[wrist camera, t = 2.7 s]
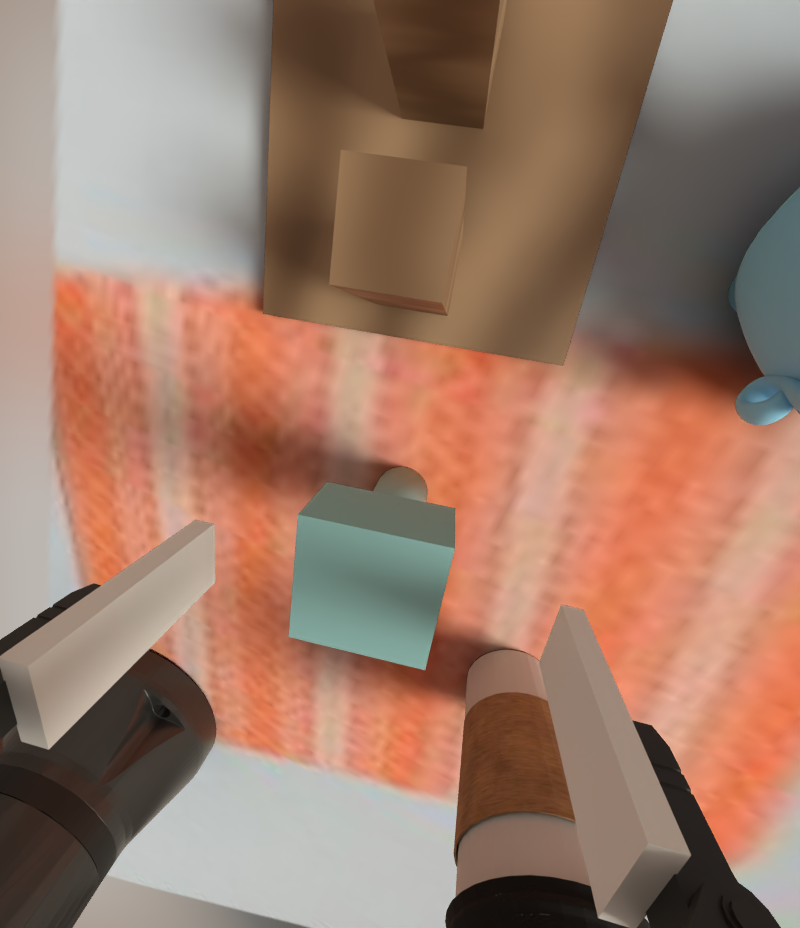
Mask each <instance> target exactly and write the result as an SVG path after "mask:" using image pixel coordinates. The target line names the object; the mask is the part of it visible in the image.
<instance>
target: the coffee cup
mask: <svg viewBox="0 0 800 928" xmlns="http://www.w3.org/2000/svg"><path fill="white" fill-rule="evenodd" d="M539 662H540V661H539V660H537V659H536V658H535V657H533V656H531V655H529V654H527V653H523V652H520V651H515V650H498V651H493V652H490V653H487V654H485V655H483V656H481V657H480V658H478V659H477V660H476V661H475V662H474V663H473V665H472V666H471V667H470V670H469V672H468V677H467V688H466V707H465V721H464V730H463V743H462V756H461V768H460V781H459V794H458V806H457V819H456V832H455V845H454V858H455V864H456V866H457V881H456V897H455V898H454V899H453V900H452V902H451V903H450V905H449V907H448V909H447V912H446V920H445V922H446V928H629V927H625V926H622V925H619V924H616V923H612V922H609V921H606V920H603V919H599V918H598V915H597V911H596V907H595V902H594V898H593V894H592V889H591V885H590V881H589V876H588V872H587V868H586V863H585V859H584V855H583V851H582V846H581V842H580V838H579V833H578V829H577V825H576V820H575V816H574V812H573V807H572V803H571V799H570V794H569V790H568V786H567V781H566V777H565V773H564V768H563V764H562V760H561V755H560V751H559V747H558V742H557V738H556V734H555V730H554V725H553V721H552V717H551V712H550V708H549V704H548V699H547V695H546V691H545V686H544V682H543V678H542V673H541V669H540V665H539ZM637 928H651V927H650V924H649V923H648V921H647V920H646V919H645V918H644V919H643V920H642V922H641V923H640V924H639V926H638V927H637Z"/></svg>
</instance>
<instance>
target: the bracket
mask: <svg viewBox="0 0 800 928" xmlns="http://www.w3.org/2000/svg"><path fill="white" fill-rule="evenodd" d="M672 2H673V0H273V29H272V58H271V88H270V118H269V148H268V178H267V208H266V238H265V268H264V298H263V314H268V315H273V316H279V317H285V318H291V319H296V320H302V321H308V322H314V323H319V324H325V325H331V326H337V327H343V328H348V329H354V330H360V331H366V332H371V333H377V334H383V335H389V336H394V337H400V338H406V339H412V340H418V341H423V342H429V343H435V344H441V345H446V346H452V347H458V348H464V349H469V350H475V351H481V352H487V353H492V354H498V355H504V356H510V357H516V358H521V359H527V360H533V361H539V362H544V363H550V364H556V365H562V366H563V365H564V362H565V358H566V355H567V352H568V348H569V345H570V342H571V338H572V335H573V332H574V328H575V325H576V322H577V318H578V315H579V312H580V308H581V305H582V302H583V298H584V295H585V292H586V288H587V285H588V282H589V278H590V275H591V272H592V269H593V265H594V262H595V259H596V255H597V252H598V249H599V245H600V242H601V239H602V235H603V232H604V229H605V225H606V222H607V219H608V215H609V212H610V209H611V205H612V202H613V199H614V195H615V192H616V189H617V185H618V182H619V179H620V175H621V172H622V169H623V165H624V162H625V159H626V155H627V152H628V149H629V145H630V142H631V139H632V135H633V132H634V129H635V125H636V122H637V119H638V116H639V112H640V109H641V106H642V102H643V99H644V96H645V92H646V89H647V86H648V82H649V79H650V76H651V72H652V69H653V66H654V62H655V59H656V56H657V52H658V49H659V46H660V42H661V39H662V36H663V32H664V29H665V26H666V22H667V19H668V16H669V12H670V9H671V6H672Z"/></svg>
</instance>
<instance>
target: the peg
mask: <svg viewBox="0 0 800 928" xmlns="http://www.w3.org/2000/svg"><path fill="white" fill-rule="evenodd" d="M426 499H427V485H426V483H425V481H424V479H423V477H422V476H421V475H420V474H419V473H417V472H416V471H414V470H413V469H410V468H407V467H395V468H392V469H389V470H387V471H386V472H385V473H384V474H383V475H382V476H381V477H380V479H379V481H378V483H377V484H376V486H375V488H374V490H373V491H369V490H364V489H360V488H355V487H350V486H345V485H340V484H336V483H331V482H326V484H325V485H324V486H323V487H322V488H321V489H320V490H319V491H318V493H317V494H316V495H315V496H314V497H313V498H312V499H311V500H310V502H309V503H308V504H307V505H306V506H305V507H304V508H303V509H302V511H301V512H300V513H299V514H298V520H297V534H296V547H295V560H294V573H293V586H292V600H291V613H290V626H289V637H291V638H295V639H299V640H303V641H307V642H311V643H315V644H319V645H323V646H327V647H332V648H336V649H340V650H344V651H348V652H352V653H356V654H360V655H364V656H368V657H372V658H377V659H381V660H385V661H389V662H393V663H397V664H401V665H405V666H409V667H413V668H417V669H422V670H425V669H426V664H427V660H428V656H429V652H430V648H431V644H432V640H433V636H434V632H435V628H436V624H437V619H438V615H439V611H440V607H441V603H442V599H443V595H444V591H445V587H446V583H447V578H448V574H449V570H450V566H451V562H452V558H453V554H454V550H455V508H451V507H446V506H441V505H437V504H432V503H427V502H426Z"/></svg>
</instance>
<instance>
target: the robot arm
mask: <svg viewBox="0 0 800 928" xmlns="http://www.w3.org/2000/svg"><path fill="white" fill-rule="evenodd" d="M214 583H215V531H214V524H213V523H208V522H204V521H200V520H195V521H193V522H192V523H190V524H189V525H188V526H186V527H185V528H183V529H182V530H180V531H179V532H177V533H176V534H175V535H173V536H172V537H170V538H169V539H167V540H166V541H165V542H163V543H162V544H160V545H159V546H157V547H156V548H154V549H153V550H152V551H150V552H149V553H147V554H146V555H144V556H143V557H142V558H140V559H139V560H137V561H136V562H134V563H133V564H131V565H130V566H129V567H127V568H126V569H124V570H123V571H121V572H120V573H119V574H117V575H116V576H114V577H113V578H111V579H110V580H108V581H107V582H106V583H104V584H103V585H97V584H91V585H89V586H86V587H84V588H82V589H79V590H77V591H74V592H72V593H70V594H69V595H67V596H66V597H64V598H63V599H61V600H60V601H58V602H57V603H55V604H54V605H53V607H52V608H50V607H49V608H48V609H46V610H45V611H43V612H42V613H40V614H39V615H38V616H37V618H32V619H31V620H29V621H28V622H26V623H25V624H23V625H22V626H20V627H19V628H17V629H16V630H14V631H13V632H11V633H10V634H8V635H7V636H5V637H4V638H2V639H1V640H0V928H72V927H73V926H74V924H75V923H76V921H77V920H78V918H79V917H80V915H81V913H82V912H83V910H84V909H85V907H86V906H87V904H88V902H89V901H90V899H91V897H92V896H93V895H94V893H95V891H96V890H97V888H98V887H99V885H100V883H101V882H102V881H103V879H104V877H105V876H106V874H107V873H108V871H109V870H110V868H111V867H112V865H113V864H114V862H115V861H116V859H117V858H118V856H119V855H120V853H121V852H122V850H123V849H124V848H125V847H126V845H127V844H128V843H129V842H130V841H131V840H132V839H133V838H134V837H135V836H136V835H137V834H138V833H139V832H140V831H141V830H142V829H143V828H144V827H145V826H146V825H147V824H148V823H149V822H150V821H151V820H152V819H153V818H154V817H155V816H156V815H157V814H158V813H159V812H160V811H161V810H162V809H163V808H164V807H165V806H166V805H167V804H168V803H169V802H170V801H171V800H172V799H173V798H174V797H175V796H176V795H177V794H178V793H179V792H180V791H181V790H182V789H183V788H184V787H185V786H186V785H187V784H188V783H189V782H190V781H191V779H192V778H193V777H194V776H195V774H196V773H197V772H198V770H199V769H200V767H201V765H202V764H203V762H204V760H205V759H206V757H207V755H208V753H209V752H210V750H211V748H212V747H213V744H214V741H215V737H216V723H215V718H214V715H213V712H212V709H211V707H210V705H209V703H208V701H207V699H206V698H205V696H204V695H203V693H202V692H201V690H200V689H199V688H198V687H197V685H196V684H195V683H194V682H193V681H192V680H191V679H190V678H189V677H188V676H187V675H186V674H185V673H184V672H182V671H181V670H180V669H179V668H177V667H176V666H175V665H173V664H172V663H170V662H169V661H167V660H166V659H164V658H162V657H161V656H159V655H157V654H155V653H153V652H151V651H148V650H149V649H150V648H151V647H152V646H153V645H154V644H155V643H156V642H157V641H158V640H159V639H160V638H161V637H162V636H163V634H164V633H165V632H166V631H167V630H168V629H169V628H170V627H171V626H172V625H173V624H174V623H175V622H176V621H177V620H178V619H179V618H180V617H181V616H182V615H183V614H184V613H185V612H186V611H187V610H188V609H189V608H190V607H191V606H192V605H193V604H194V603H195V602H196V601H197V600H198V599H199V598H200V597H201V596H202V595H203V594H204V593H205V592H206V591H207V590H208V589H209V588H210V587H211V586H212V585H213V584H214ZM539 665H540V669H541V673H542V678H543V682H544V686H545V691H546V695H547V699H548V704H549V708H550V712H551V717H552V721H553V725H554V730H555V734H556V738H557V742H558V747H559V751H560V755H561V760H562V764H563V768H564V773H565V777H566V781H567V786H568V790H569V794H570V799H571V803H572V807H573V812H574V816H575V820H576V825H577V829H578V833H579V838H580V842H581V846H582V851H583V855H584V859H585V863H586V868H587V872H588V876H589V881H590V885H591V889H592V894H593V898H594V902H595V907H596V911H597V915H598V918H599V919H603V920H606V921H609V922H612V923H616V924H619V925H622V926H625V927H629V928H637V927H638V926H639V924H640V923H641V922H642V920H643V919H644V918H645V916H646V915H647V918H648V921H649V924H650V927H651V928H781V927H780V926H779V924H778V923H777V922H776V920H775V919H774V917H773V916H772V915H771V913H770V912H769V910H768V909H767V908H766V907H765V906H764V905H763V904H762V903H761V902H760V901H759V900H758V899H757V898H756V897H755V896H754V894H753V893H752V892H750V891H749V890H748V889H746V888H745V887H744V886H742V885H741V884H739V883H738V882H737V880H736V878H735V877H734V875H733V873H732V871H731V869H730V867H729V865H728V863H727V861H726V859H725V857H724V855H723V853H722V851H721V849H720V847H719V845H718V843H717V841H716V839H715V837H714V835H713V833H712V831H711V829H710V827H709V825H708V823H707V821H706V819H705V817H704V815H703V813H702V811H701V809H700V807H699V805H698V803H697V801H696V799H695V797H694V795H692V794H691V789H690V787H689V785H688V783H687V781H686V779H685V777H684V775H682V774H681V769H680V767H679V765H678V763H677V761H676V759H675V757H674V755H673V753H672V751H671V749H670V747H669V746H668V745H667V744H666V742H665V741H664V740H663V739H662V737H661V736H660V735H659V734H658V733H657V731H656V730H655V729H654V728H653V726H652V725H648V724H644V723H640V722H636V721H632V719H631V717H630V714H629V712H628V710H627V708H626V705H625V703H624V701H623V698H622V696H621V694H620V692H619V689H618V687H617V685H616V682H615V680H614V678H613V676H612V673H611V671H610V669H609V666H608V664H607V662H606V660H605V657H604V655H603V653H602V650H601V648H600V646H599V644H598V641H597V639H596V637H595V634H594V632H593V630H592V628H591V625H590V623H589V621H588V618H587V616H586V614H585V612H584V610H583V609H578V608H574V607H570V606H565V605H561V607H560V610H559V612H558V615H557V617H556V620H555V623H554V625H553V628H552V630H551V633H550V636H549V638H548V641H547V643H546V646H545V649H544V651H543V654H542V656H541V659H540V662H539Z"/></svg>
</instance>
